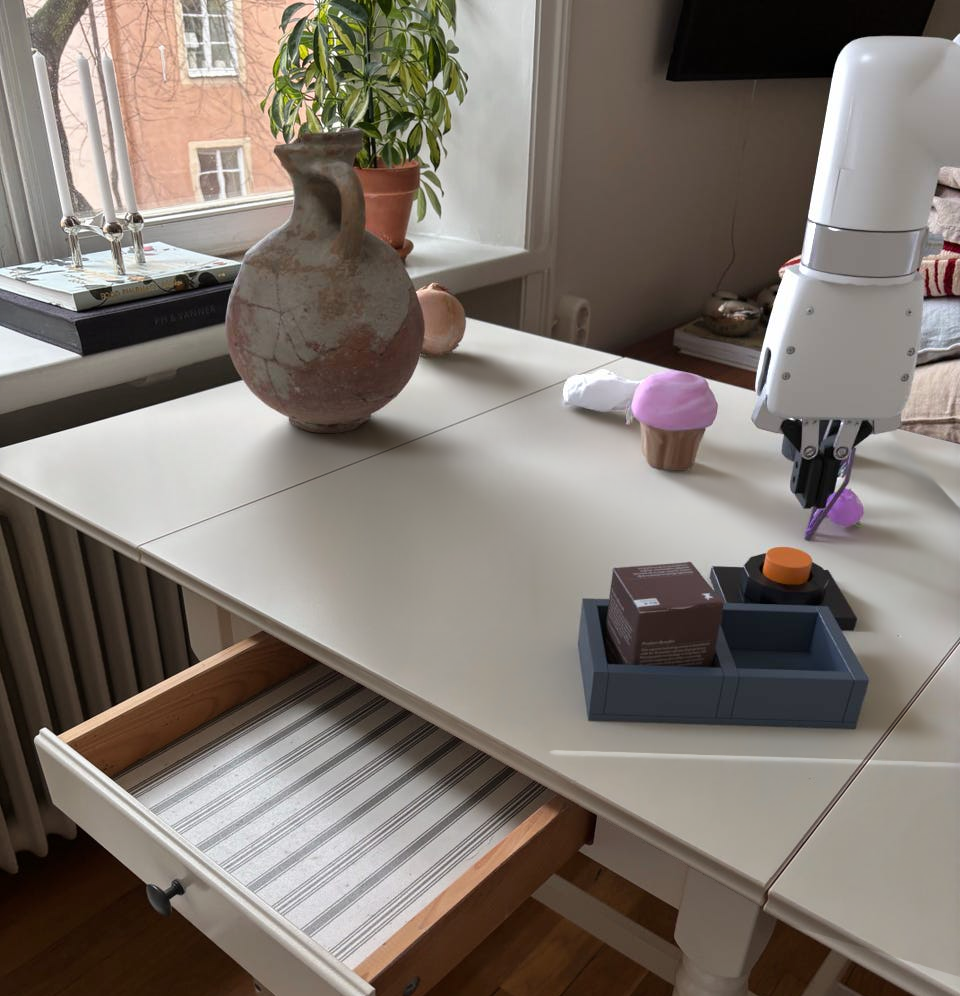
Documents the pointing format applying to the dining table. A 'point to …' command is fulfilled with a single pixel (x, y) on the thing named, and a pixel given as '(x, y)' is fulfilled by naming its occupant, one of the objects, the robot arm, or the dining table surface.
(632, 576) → the box
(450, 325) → the onion
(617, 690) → the holder
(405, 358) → the jug
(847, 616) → the push button base
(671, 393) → the cupcake
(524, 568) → the dining table surface
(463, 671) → the dining table surface
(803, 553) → the button
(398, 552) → the dining table surface
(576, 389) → the bird figurine
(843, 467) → the purple framed ornament
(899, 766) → the dining table surface
